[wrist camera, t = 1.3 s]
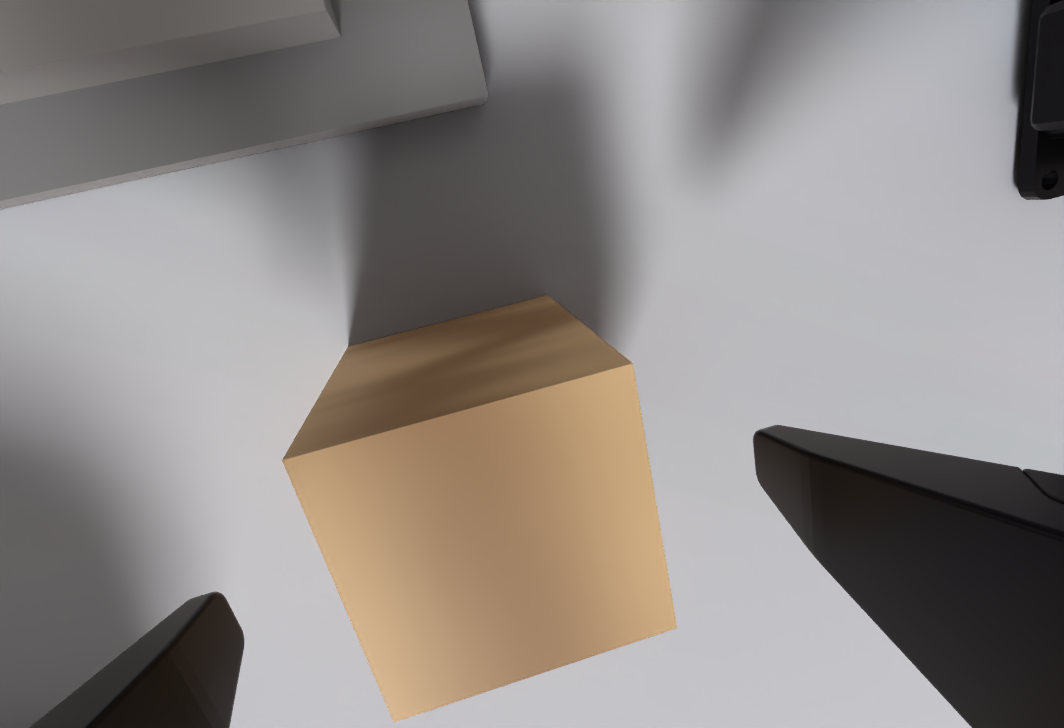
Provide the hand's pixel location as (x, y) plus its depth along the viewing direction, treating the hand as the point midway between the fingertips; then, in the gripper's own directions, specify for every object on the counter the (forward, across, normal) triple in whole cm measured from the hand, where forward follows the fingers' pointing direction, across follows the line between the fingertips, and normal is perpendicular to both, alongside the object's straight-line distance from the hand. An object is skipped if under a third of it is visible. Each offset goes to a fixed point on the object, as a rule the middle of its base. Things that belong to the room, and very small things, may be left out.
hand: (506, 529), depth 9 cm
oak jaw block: (+5, 0, 0) cm, 5 cm away
